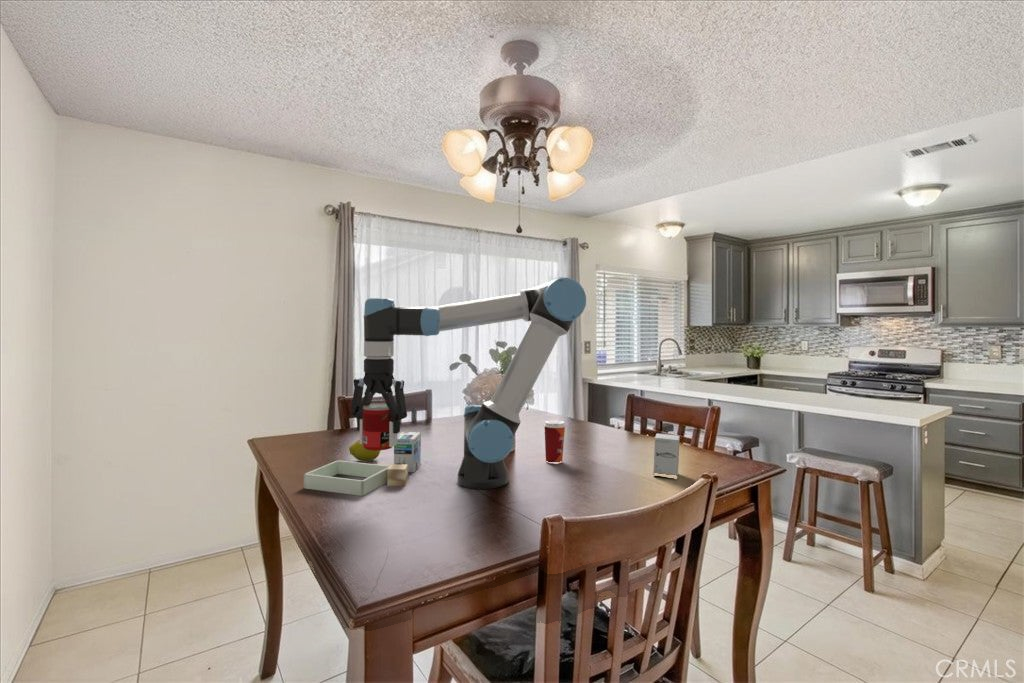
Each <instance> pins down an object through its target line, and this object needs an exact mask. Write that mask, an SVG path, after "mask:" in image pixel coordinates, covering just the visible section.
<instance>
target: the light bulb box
mask: <svg viewBox="0 0 1024 683" xmlns="http://www.w3.org/2000/svg"><path fill="white" fill-rule="evenodd" d="M421 447H422V432H418V431H417V432H414V431H413V432H410V431H402V432H401V431H400V432H399V433H398V434H397V445H395V446H393V464H408V473H415V472H416V470H417V469H418V468H419V467H420V465H421V464H422V463H421V462H422V461H421V456H422V455H421V452H422V448H421Z"/></svg>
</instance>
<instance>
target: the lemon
mask: <svg viewBox="0 0 1024 683" xmlns="http://www.w3.org/2000/svg"><path fill="white" fill-rule="evenodd" d="M348 450H349V454H350V455H352V456H353V458H355V460H358V461H360V462H371V461H374V460H376V459H378V457H379V455H380V453H381V451H382V450H378V451H374V450H367V449H365V448H364V447H363V444H360V439H358V440H357V441H355V442H354V443H353V444H350V446H349V447H348Z"/></svg>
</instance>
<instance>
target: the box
mask: <svg viewBox="0 0 1024 683" xmlns="http://www.w3.org/2000/svg"><path fill="white" fill-rule="evenodd" d="M389 466H390V465H383V464H375V463H365V462H357V461H356V462H355V461H348V460H347V461H346V460H335V461H333V462H330V463H327V464H325V465H323V466H320V467H318V468H315V469H312V470H311V471H308V472H305V473H304V474H303V489H307V490H314V491H322V492H329V493H336V494H346V495H353V496H359V497H360V496H361V497H364V496H365V495H368V494H369V493H371V492H373V491H374V490H376V489H378V488H380V487H381V486H383V485H384V484H385V485H386V484H387V473H388V468H389ZM336 475H346V476H347V475H348V476H353V477H354V476H355V477H360V478H362V477H363V478H364V479H363V480H361V479H354V478H353V479H352V478H344V477H337V476H336Z"/></svg>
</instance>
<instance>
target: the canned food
mask: <svg viewBox="0 0 1024 683" xmlns="http://www.w3.org/2000/svg"><path fill="white" fill-rule="evenodd" d="M391 420H392V418H391V415H390V412H389V407H387V404H386V402H385V403H384V402H383V403H382V402H381V403H380V402H379V403H370V405H366V406H365V405H364V406H363V447H364V448H365V449H367V450H374V451H378V450H381V451H385V450H390V449H392V448H393V447H389V422H390V421H391Z"/></svg>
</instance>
